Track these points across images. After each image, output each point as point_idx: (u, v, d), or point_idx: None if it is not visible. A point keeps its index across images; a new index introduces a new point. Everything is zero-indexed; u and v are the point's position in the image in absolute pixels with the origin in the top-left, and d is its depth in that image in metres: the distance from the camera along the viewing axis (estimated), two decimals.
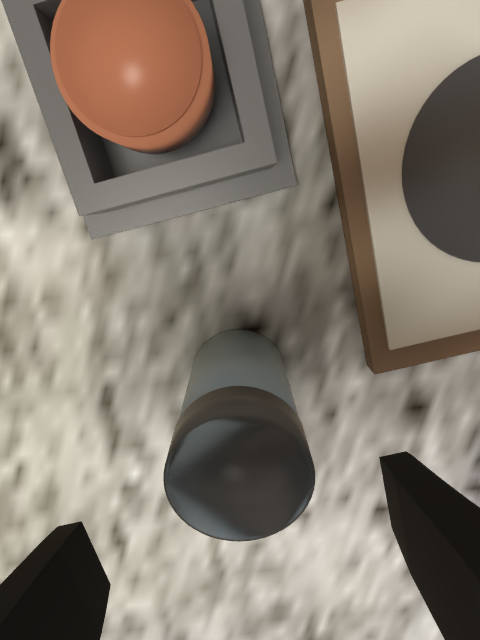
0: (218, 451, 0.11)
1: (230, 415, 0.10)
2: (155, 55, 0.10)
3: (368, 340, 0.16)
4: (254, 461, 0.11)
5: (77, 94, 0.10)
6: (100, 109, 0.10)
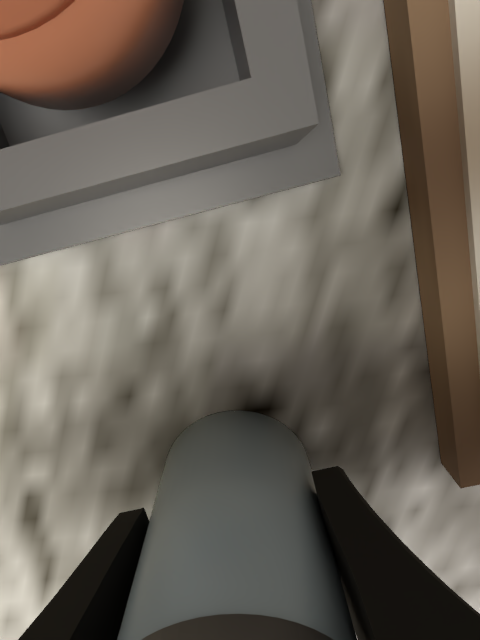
0: None
1: None
2: None
3: (454, 436, 0.10)
4: None
5: None
6: None
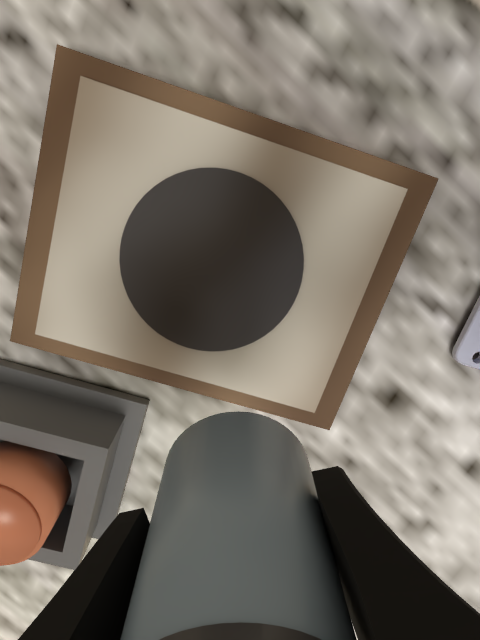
0: None
1: None
2: None
3: (297, 420, 0.18)
4: None
5: None
6: (10, 555, 0.15)
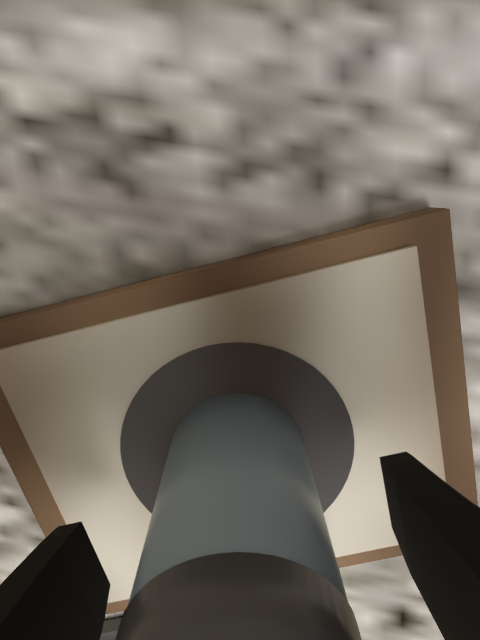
0: None
1: None
2: None
3: None
4: None
5: None
6: None
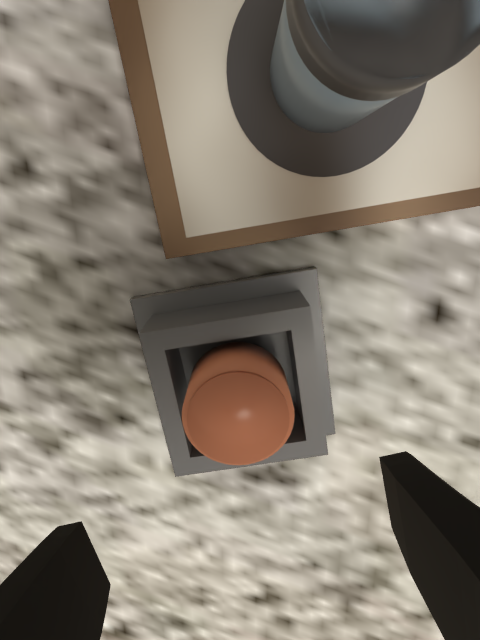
0: None
1: None
2: (238, 403, 0.14)
3: None
4: None
5: (258, 455, 0.14)
6: (269, 442, 0.14)
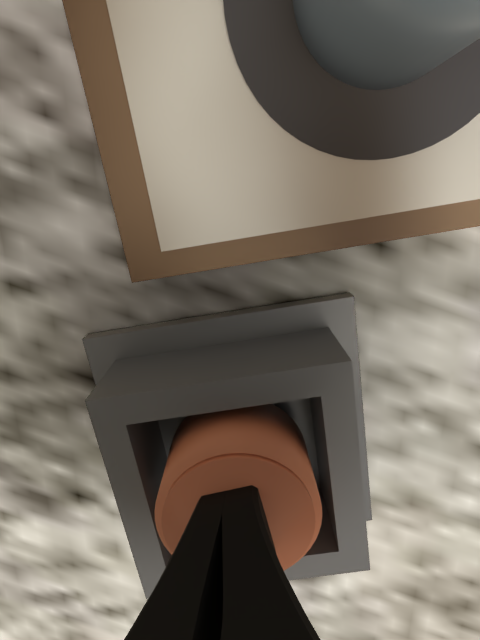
0: None
1: None
2: None
3: None
4: None
5: None
6: (284, 554, 0.10)
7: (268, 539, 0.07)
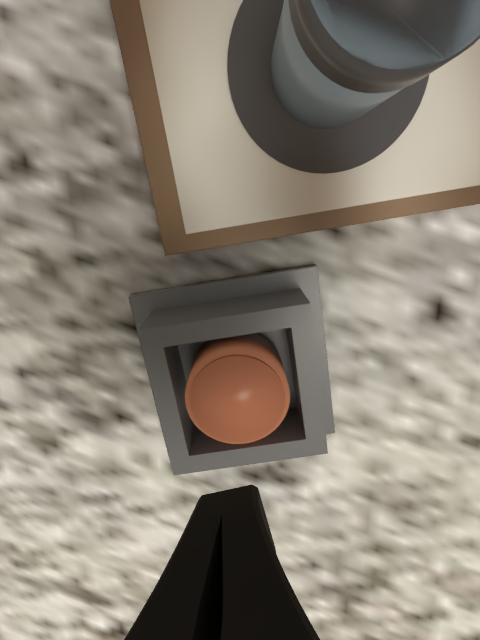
0: None
1: None
2: (238, 384, 0.15)
3: None
4: None
5: (256, 434, 0.15)
6: (266, 422, 0.15)
7: (268, 539, 0.07)
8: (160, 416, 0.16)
